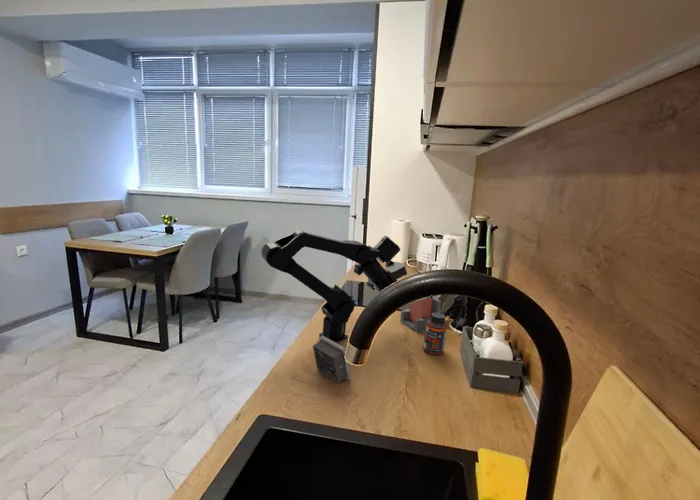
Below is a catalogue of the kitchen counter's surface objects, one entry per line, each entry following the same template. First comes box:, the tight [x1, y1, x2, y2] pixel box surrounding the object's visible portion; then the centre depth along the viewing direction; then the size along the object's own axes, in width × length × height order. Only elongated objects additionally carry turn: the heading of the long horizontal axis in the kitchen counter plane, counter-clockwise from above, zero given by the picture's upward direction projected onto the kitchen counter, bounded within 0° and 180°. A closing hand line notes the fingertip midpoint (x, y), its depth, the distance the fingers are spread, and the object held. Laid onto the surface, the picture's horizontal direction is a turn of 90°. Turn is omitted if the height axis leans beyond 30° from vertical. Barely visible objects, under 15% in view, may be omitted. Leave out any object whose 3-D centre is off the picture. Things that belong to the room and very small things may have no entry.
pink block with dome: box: [409, 296, 434, 322], centre depth 128 cm, size 4×6×11 cm
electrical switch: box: [312, 336, 352, 384], centre depth 93 cm, size 9×5×9 cm, turn 45°
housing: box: [399, 296, 442, 333], centre depth 129 cm, size 8×10×10 cm
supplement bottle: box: [422, 312, 448, 355], centre depth 111 cm, size 6×6×11 cm
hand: (401, 304), depth 124 cm, fingers closed
